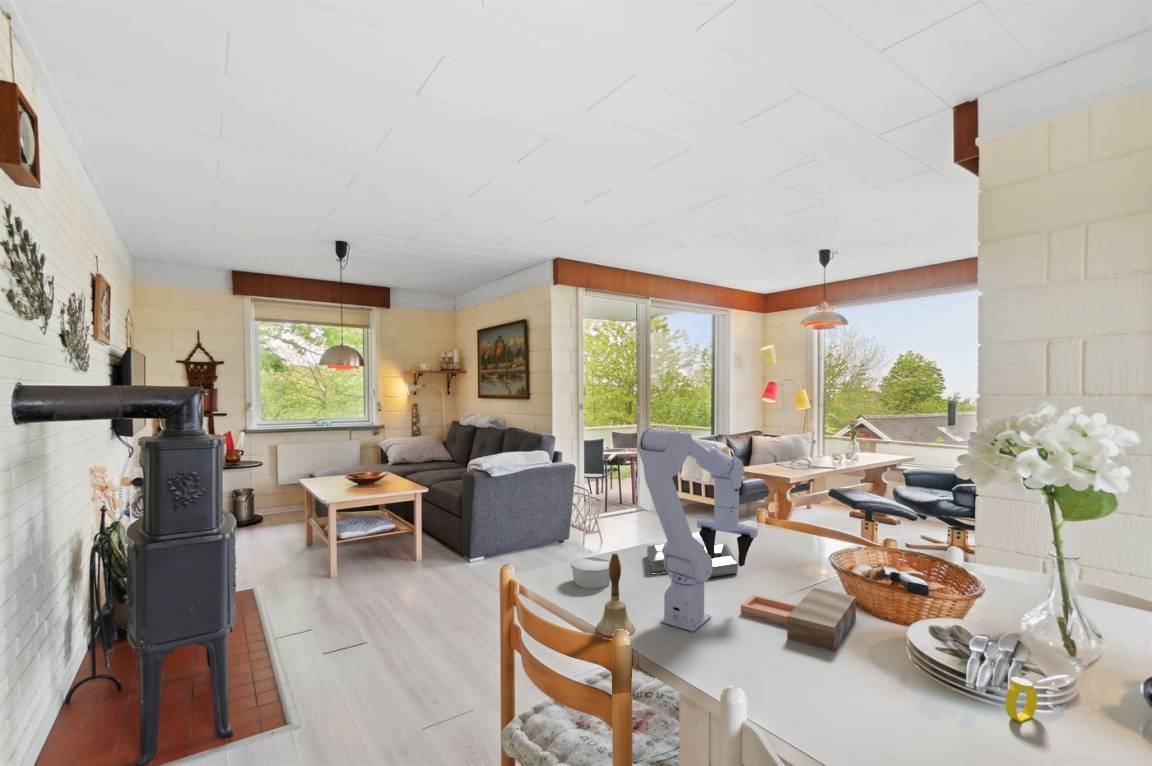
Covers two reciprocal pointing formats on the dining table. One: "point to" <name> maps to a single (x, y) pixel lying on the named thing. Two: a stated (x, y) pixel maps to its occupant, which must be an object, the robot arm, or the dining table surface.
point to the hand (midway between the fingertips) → (726, 562)
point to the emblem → (723, 556)
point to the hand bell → (614, 605)
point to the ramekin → (591, 572)
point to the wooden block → (821, 618)
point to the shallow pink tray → (767, 609)
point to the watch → (1013, 696)
